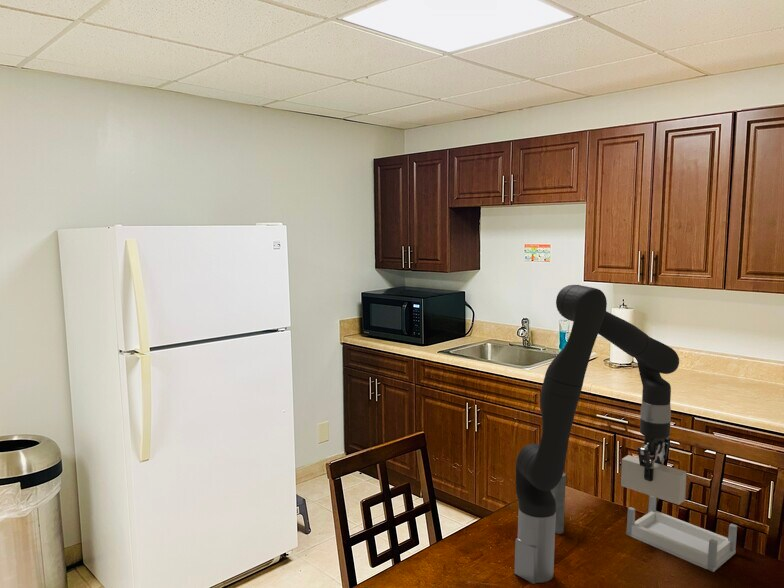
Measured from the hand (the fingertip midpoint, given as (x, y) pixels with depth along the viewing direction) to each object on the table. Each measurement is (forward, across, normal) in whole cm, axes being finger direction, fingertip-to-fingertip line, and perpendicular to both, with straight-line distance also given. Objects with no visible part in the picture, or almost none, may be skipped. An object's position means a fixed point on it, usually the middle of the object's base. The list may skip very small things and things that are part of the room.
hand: (652, 477), depth 163 cm
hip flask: (+20, -10, +26) cm, 34 cm away
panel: (+4, 0, 0) cm, 4 cm away
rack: (+20, +7, -5) cm, 22 cm away
